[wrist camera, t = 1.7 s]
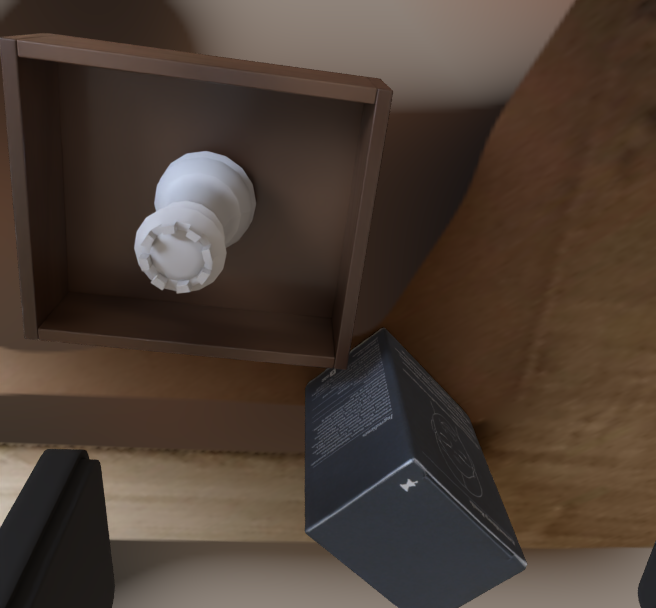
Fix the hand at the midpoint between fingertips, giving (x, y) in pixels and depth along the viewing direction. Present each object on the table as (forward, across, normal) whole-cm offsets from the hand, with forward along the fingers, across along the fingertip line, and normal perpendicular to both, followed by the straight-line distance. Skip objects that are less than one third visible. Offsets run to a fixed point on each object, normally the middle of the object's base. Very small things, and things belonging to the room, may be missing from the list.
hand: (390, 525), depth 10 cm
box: (+21, -4, +12) cm, 24 cm away
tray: (+21, +6, +1) cm, 22 cm away
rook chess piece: (+21, +6, +1) cm, 22 cm away
